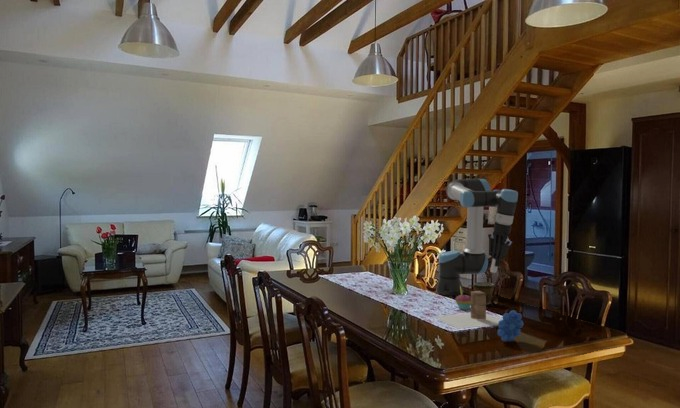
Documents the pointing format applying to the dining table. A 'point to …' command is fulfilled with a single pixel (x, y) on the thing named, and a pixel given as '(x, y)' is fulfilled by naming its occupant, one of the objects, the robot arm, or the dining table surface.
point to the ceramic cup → (484, 289)
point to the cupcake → (463, 301)
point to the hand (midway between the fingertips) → (493, 272)
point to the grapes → (510, 326)
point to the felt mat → (467, 320)
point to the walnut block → (478, 305)
